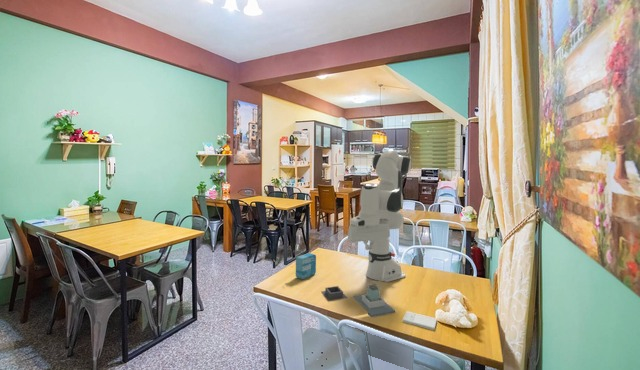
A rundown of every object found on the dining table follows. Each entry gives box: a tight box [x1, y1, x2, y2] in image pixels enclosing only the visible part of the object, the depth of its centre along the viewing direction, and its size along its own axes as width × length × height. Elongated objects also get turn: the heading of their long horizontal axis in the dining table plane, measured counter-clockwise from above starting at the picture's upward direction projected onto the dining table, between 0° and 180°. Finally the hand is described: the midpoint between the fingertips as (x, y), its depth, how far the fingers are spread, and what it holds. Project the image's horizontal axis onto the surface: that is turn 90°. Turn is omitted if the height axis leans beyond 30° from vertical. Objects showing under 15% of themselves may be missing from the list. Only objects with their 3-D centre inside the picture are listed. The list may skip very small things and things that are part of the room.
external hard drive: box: [402, 310, 438, 331], centre depth 121 cm, size 2×8×12 cm
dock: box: [352, 293, 396, 318], centre depth 134 cm, size 12×18×4 cm, turn 19°
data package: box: [295, 252, 317, 280], centre depth 165 cm, size 12×4×12 cm, turn 138°
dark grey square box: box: [321, 285, 348, 302], centre depth 141 cm, size 10×10×4 cm
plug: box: [366, 284, 381, 302], centre depth 134 cm, size 4×4×8 cm
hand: (368, 249), depth 134 cm, fingers closed
